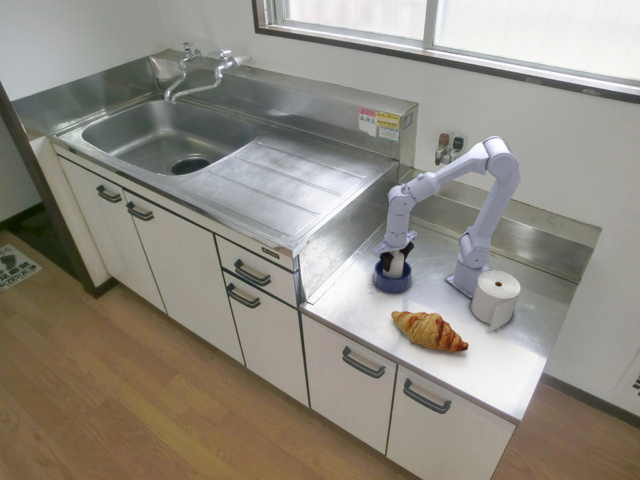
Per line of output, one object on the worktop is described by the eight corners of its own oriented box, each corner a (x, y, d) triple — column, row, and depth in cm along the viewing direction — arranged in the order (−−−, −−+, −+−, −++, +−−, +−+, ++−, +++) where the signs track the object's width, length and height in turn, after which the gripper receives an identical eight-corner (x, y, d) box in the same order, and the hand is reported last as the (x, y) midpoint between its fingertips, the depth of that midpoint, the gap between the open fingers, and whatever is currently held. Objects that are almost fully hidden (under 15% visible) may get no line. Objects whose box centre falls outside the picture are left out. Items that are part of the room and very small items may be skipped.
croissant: (385, 333, 123) (379, 324, 116) (401, 301, 126) (396, 290, 119) (461, 368, 113) (459, 361, 106) (476, 333, 116) (476, 323, 109)
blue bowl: (417, 283, 133) (419, 271, 130) (390, 298, 129) (391, 286, 126) (393, 264, 140) (394, 252, 137) (366, 278, 136) (367, 266, 133)
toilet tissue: (497, 293, 129) (505, 267, 123) (522, 324, 120) (532, 297, 114) (463, 300, 127) (470, 274, 121) (486, 332, 118) (494, 305, 112)
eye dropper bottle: (396, 283, 130) (399, 250, 123) (380, 274, 133) (382, 242, 126) (404, 275, 133) (408, 243, 125) (388, 267, 136) (391, 235, 128)
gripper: (407, 212, 128) (402, 249, 137) (366, 230, 122) (364, 268, 130) (424, 224, 124) (419, 262, 132) (383, 243, 117) (380, 281, 126)
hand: (393, 266), depth 131 cm, fingers closed on eye dropper bottle, 5 cm apart
